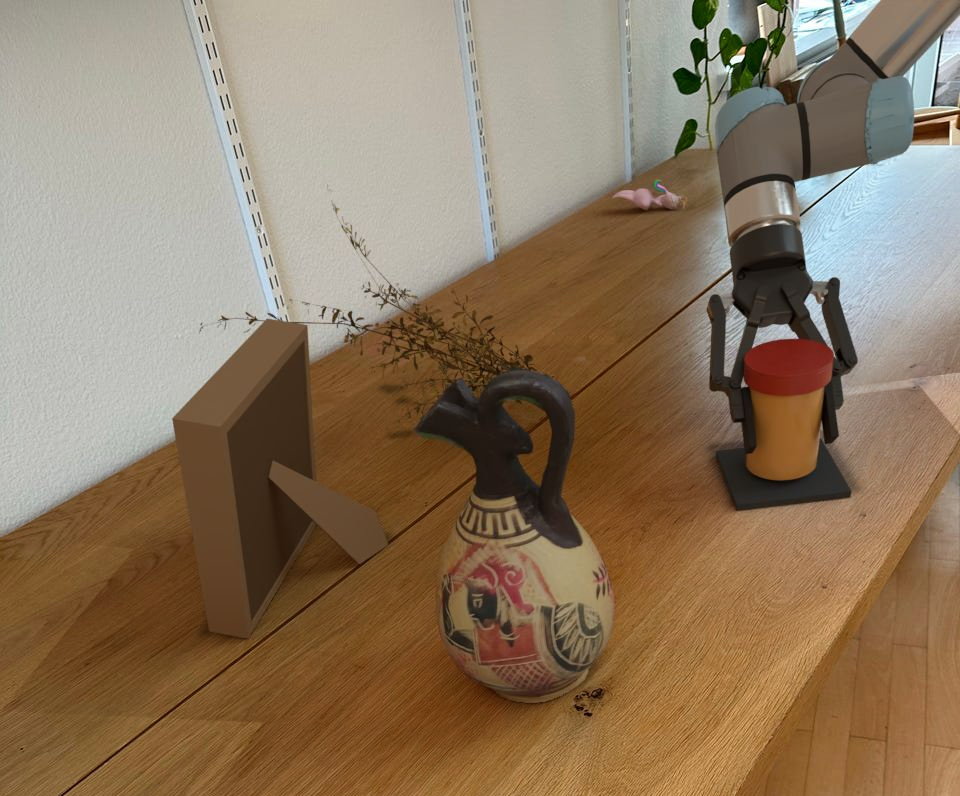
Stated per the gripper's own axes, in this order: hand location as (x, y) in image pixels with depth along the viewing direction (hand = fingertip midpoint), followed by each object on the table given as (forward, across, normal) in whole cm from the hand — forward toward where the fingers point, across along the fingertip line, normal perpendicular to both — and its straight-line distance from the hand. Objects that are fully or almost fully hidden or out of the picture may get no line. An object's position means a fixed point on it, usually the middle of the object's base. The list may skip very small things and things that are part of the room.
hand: (791, 444), depth 95 cm
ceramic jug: (+22, +28, +14) cm, 38 cm away
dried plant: (-13, +43, -22) cm, 50 cm away
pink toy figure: (-74, +1, -82) cm, 111 cm away
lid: (-8, 0, +3) cm, 9 cm away
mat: (+2, 0, -6) cm, 7 cm away
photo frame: (+8, +53, 0) cm, 54 cm away
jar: (0, 0, -5) cm, 5 cm away
